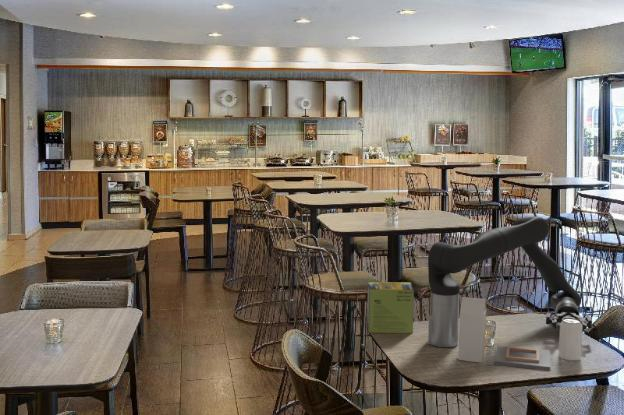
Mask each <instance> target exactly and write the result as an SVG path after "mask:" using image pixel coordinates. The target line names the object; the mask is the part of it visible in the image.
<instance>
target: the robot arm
mask: <svg viewBox="0 0 624 415" xmlns="http://www.w3.org/2000/svg"><path fill="white" fill-rule="evenodd" d="M549 233H550V224H549V223H548V222H547V220H546V219H545V218H543V217H540V216H525V217H520V218H517V219H516V220H514V222H513V223H512V225H510V226H509V225H508V226H501V227H500V226H499V227H495V228H492V229H488V230H484V231H482V232H480V233H478V234H477V235H476V236H475V238H474V239H473V242H470V243H466V244H462V245H458V244H451V243H447V242H443V241H442V242H440V241H439V242H438V241H437V242H435V243H434V244H433V245H432V246H431V247H430V249H429V251H428V258H427V262H428V263H427V269H428V270H427V271H428V273H427V274H428V277H427V278H428V284H429V286H430V302H429V303H430V304H429V316H428V334H427V335H428V336H427V337H428V338H427V339H428V340H427V341H428V342H427V345H431V346H435V347H439V348H454V347H456V346H458V345H459V324H460V284H459V283H458V282H457V280H455V279H454V278H453V277H452V274H458V273H460V272H462V271H464V270H466V269H469V268H470V267H472V266H474V265H476V264H478V263H481V262H484V261H487V260H490V259H494V258H497V257H499V256H501V255H504V254H507V253H510V252H511V251H514V250H516V249H519V248H522V250H523V251H524V252H525V254H526V255H527V256H528V257H529V258H530V260H531V261H532V263H533V265H534V266H535V267H536V269H537V270H538V272H539V274H540V276H541V278H542V280H543V282H544V284H545V285H546V287H547V289H548V290H549V291H550V292H558V293H555V294H553V295H552V296H551V297H550V299H549V303H550V305H551V307H552V308H551V309H553V311H554V312H555V315H554V314H552V313H551V312H546V316H545V324H546V325H551V327H552V328H553V329H557V326H559V327H560V324H561V322H562V319H563V318H576V319H579V320H581V324H582V332H584V331H586V330H588V329H592V328H593V320H592V317H591V316H590V315H586V316H585V317H582V316H581V315H580V312H579V306H580V305H581V303H582V297H581V295H580V293H578V291H577V290H576V289H575V288H574V287H573V285H571V284H570V283H569V281H568V280H567V278H566V277H565V274H564V272H562V269H561V267H560V266H559V264H558V263H557V261H555V260H554V259H553V258H552V257H551V256H550V255H549V254H547V253H546V252H545V251H544V250H543V249H542V248H541V247H540V246H539V244H538V243H540V242H543V241H544V240H546V239H547V237H548V235H549Z"/></svg>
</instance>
